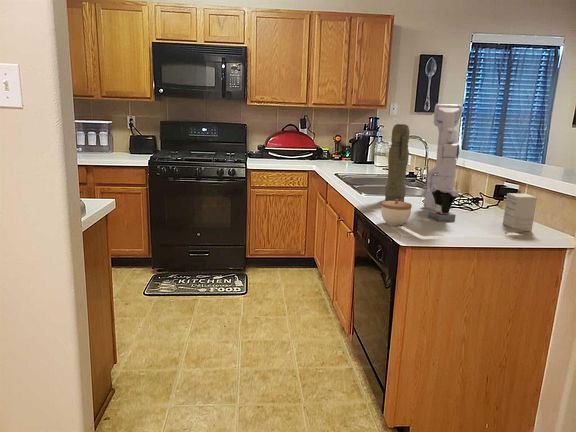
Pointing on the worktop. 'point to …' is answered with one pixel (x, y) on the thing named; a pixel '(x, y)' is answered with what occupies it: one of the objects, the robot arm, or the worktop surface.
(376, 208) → the worktop surface
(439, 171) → the robot arm
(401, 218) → the lidded jar
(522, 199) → the supplement box
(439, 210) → the column
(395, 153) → the potted cactus
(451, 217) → the stand base
